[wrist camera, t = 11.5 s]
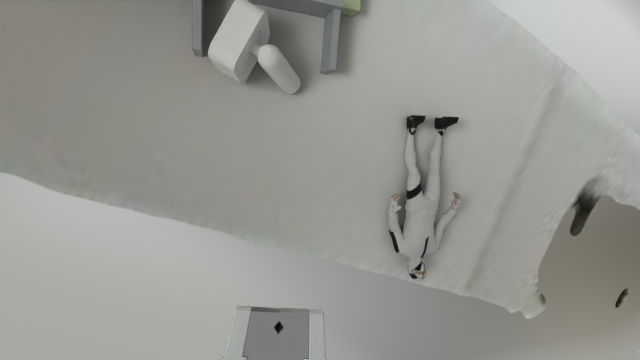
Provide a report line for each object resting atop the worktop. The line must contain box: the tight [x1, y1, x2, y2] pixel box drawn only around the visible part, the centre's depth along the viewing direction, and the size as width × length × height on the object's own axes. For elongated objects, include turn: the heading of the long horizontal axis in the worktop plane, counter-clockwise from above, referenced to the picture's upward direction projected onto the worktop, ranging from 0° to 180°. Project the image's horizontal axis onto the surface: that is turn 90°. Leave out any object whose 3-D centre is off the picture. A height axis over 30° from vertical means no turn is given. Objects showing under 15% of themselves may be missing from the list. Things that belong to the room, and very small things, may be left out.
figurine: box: [387, 115, 461, 281], centre depth 53 cm, size 13×6×30 cm
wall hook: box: [208, 0, 301, 94], centre depth 39 cm, size 8×10×10 cm
